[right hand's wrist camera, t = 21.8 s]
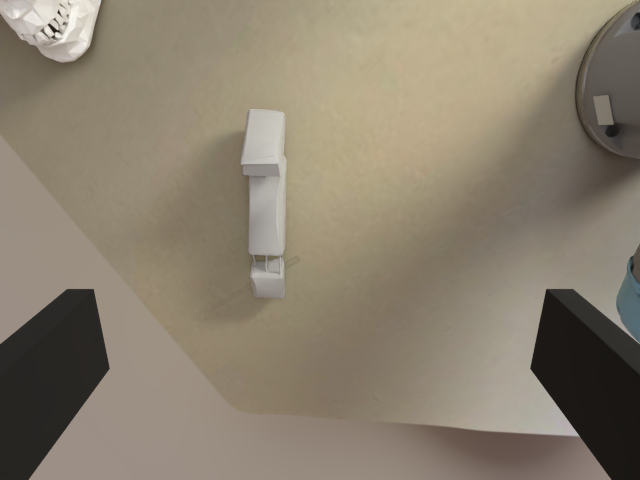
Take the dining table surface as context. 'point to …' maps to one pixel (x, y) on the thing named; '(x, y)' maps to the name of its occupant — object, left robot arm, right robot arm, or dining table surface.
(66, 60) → the skull
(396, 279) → the dining table surface
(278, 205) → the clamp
